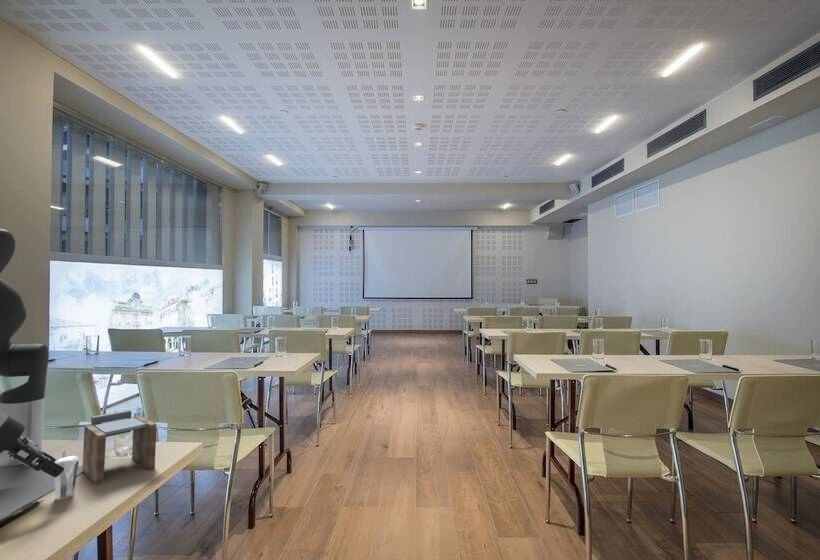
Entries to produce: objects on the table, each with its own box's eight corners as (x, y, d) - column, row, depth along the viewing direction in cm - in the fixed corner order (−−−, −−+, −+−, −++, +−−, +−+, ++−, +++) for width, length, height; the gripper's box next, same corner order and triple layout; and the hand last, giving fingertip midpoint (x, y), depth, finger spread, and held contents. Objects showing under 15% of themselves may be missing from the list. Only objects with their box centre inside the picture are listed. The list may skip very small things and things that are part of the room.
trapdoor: (89, 438, 111) (90, 416, 112) (129, 430, 119) (129, 409, 119) (104, 449, 103) (105, 426, 103) (145, 440, 110) (146, 418, 111)
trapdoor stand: (82, 470, 108) (84, 425, 109) (137, 456, 118) (139, 415, 119) (96, 484, 100) (98, 435, 101) (154, 468, 110) (156, 423, 111)
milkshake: (73, 489, 97) (75, 447, 98) (79, 496, 94) (81, 453, 95) (48, 496, 94) (51, 453, 94) (53, 503, 91) (56, 458, 91)
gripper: (11, 420, 83) (79, 460, 91) (1, 409, 91) (64, 446, 100) (-29, 454, 78) (46, 493, 86) (-35, 438, 87) (34, 475, 95)
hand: (56, 468), depth 93 cm, fingers open, 8 cm apart
